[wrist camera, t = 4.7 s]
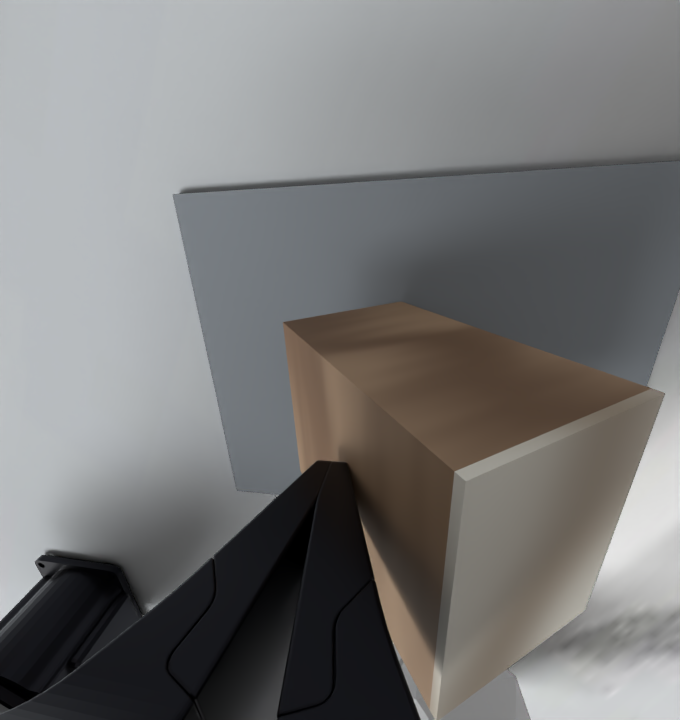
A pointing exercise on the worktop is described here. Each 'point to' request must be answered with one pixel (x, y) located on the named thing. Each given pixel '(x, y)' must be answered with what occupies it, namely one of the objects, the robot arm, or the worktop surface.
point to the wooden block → (468, 479)
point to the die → (478, 700)
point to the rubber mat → (428, 275)
